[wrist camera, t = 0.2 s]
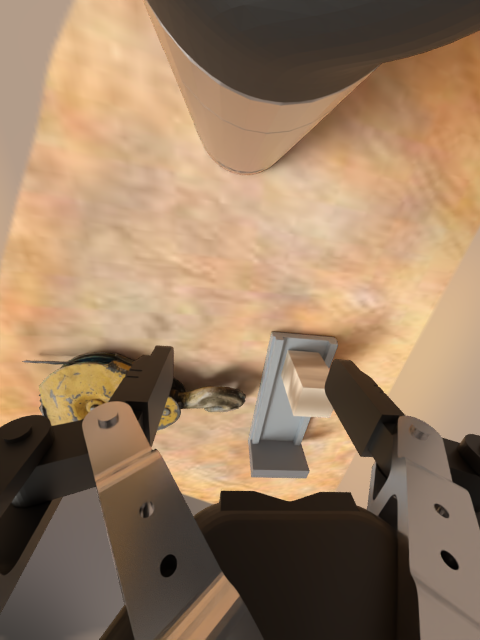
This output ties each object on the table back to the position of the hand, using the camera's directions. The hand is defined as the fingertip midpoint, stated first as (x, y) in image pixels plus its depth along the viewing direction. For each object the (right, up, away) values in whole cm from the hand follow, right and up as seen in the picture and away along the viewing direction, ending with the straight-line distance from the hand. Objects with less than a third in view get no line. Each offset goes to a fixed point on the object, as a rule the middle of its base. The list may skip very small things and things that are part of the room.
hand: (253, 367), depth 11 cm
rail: (+7, -10, +25) cm, 28 cm away
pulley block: (-15, -8, +23) cm, 29 cm away
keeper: (+8, -4, +20) cm, 22 cm away
